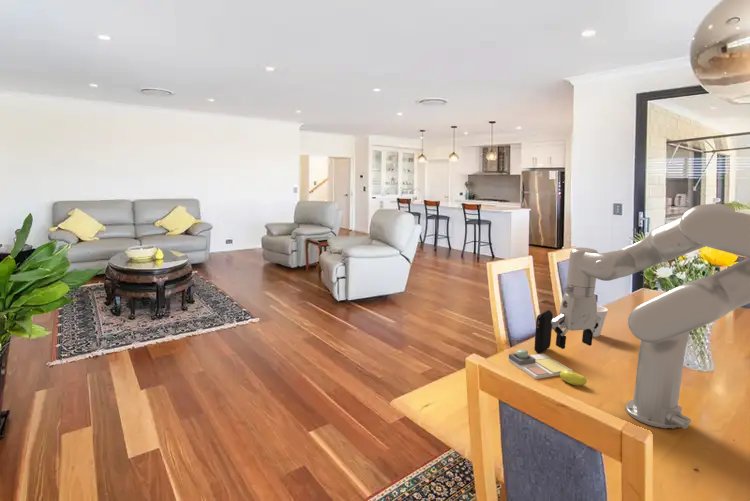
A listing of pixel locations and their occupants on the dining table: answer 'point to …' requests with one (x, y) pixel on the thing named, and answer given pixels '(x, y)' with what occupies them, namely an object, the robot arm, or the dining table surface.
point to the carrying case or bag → (543, 331)
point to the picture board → (538, 365)
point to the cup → (602, 313)
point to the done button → (522, 354)
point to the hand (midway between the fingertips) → (573, 345)
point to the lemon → (573, 377)
